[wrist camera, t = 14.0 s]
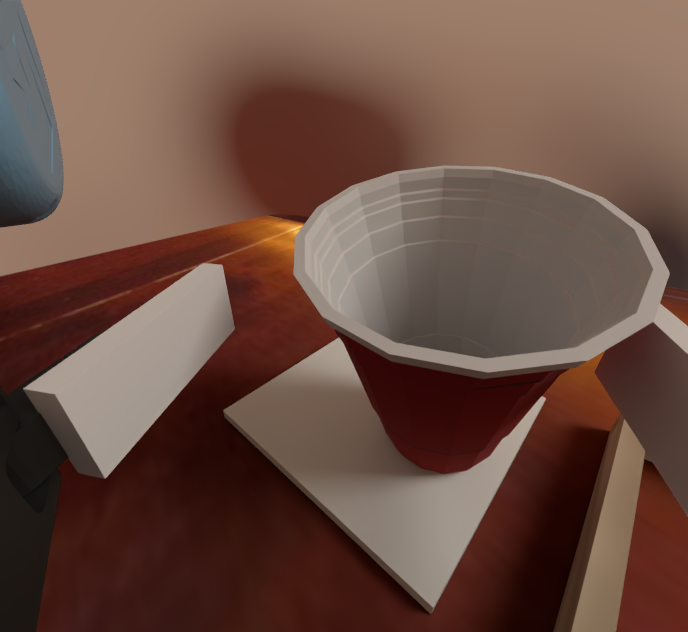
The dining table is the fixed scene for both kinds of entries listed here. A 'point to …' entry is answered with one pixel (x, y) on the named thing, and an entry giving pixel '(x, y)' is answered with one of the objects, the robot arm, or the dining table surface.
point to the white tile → (371, 470)
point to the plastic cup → (472, 297)
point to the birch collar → (604, 538)
